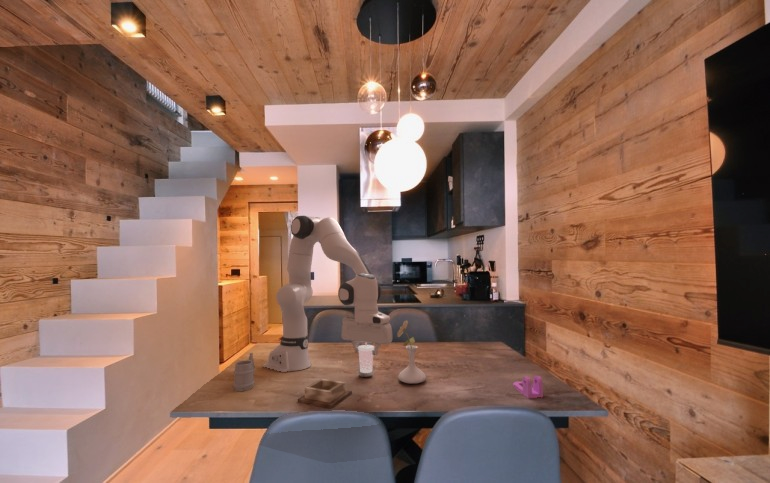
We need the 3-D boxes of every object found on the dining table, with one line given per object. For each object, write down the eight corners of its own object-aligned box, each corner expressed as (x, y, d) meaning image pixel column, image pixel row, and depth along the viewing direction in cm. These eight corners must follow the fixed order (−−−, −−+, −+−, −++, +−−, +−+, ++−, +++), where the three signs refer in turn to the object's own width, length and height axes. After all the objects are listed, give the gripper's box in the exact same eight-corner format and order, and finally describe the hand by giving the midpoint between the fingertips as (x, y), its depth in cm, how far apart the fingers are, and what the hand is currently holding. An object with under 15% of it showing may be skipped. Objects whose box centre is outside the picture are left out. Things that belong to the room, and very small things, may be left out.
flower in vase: (410, 374, 151) (409, 316, 152) (432, 381, 143) (430, 319, 144) (389, 382, 142) (388, 320, 143) (410, 389, 134) (409, 323, 135)
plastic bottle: (371, 379, 146) (371, 330, 147) (356, 378, 147) (355, 330, 148) (375, 374, 152) (374, 327, 153) (360, 373, 154) (359, 327, 154)
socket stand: (297, 402, 124) (297, 389, 124) (320, 388, 136) (320, 376, 137) (331, 408, 118) (331, 394, 118) (351, 393, 131) (351, 381, 131)
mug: (229, 391, 135) (229, 359, 135) (244, 380, 146) (244, 351, 147) (248, 392, 134) (248, 360, 134) (262, 381, 146) (262, 351, 146)
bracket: (543, 397, 125) (542, 377, 125) (528, 398, 124) (527, 378, 125) (524, 384, 138) (523, 366, 138) (510, 385, 137) (510, 367, 138)
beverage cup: (375, 373, 129) (375, 334, 130) (358, 374, 128) (358, 335, 129) (373, 368, 135) (373, 331, 136) (357, 368, 135) (357, 331, 135)
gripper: (338, 315, 134) (338, 352, 134) (387, 319, 126) (387, 359, 125) (346, 313, 140) (346, 348, 139) (394, 317, 131) (394, 354, 131)
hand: (366, 353), depth 132 cm, fingers closed on beverage cup, 6 cm apart
